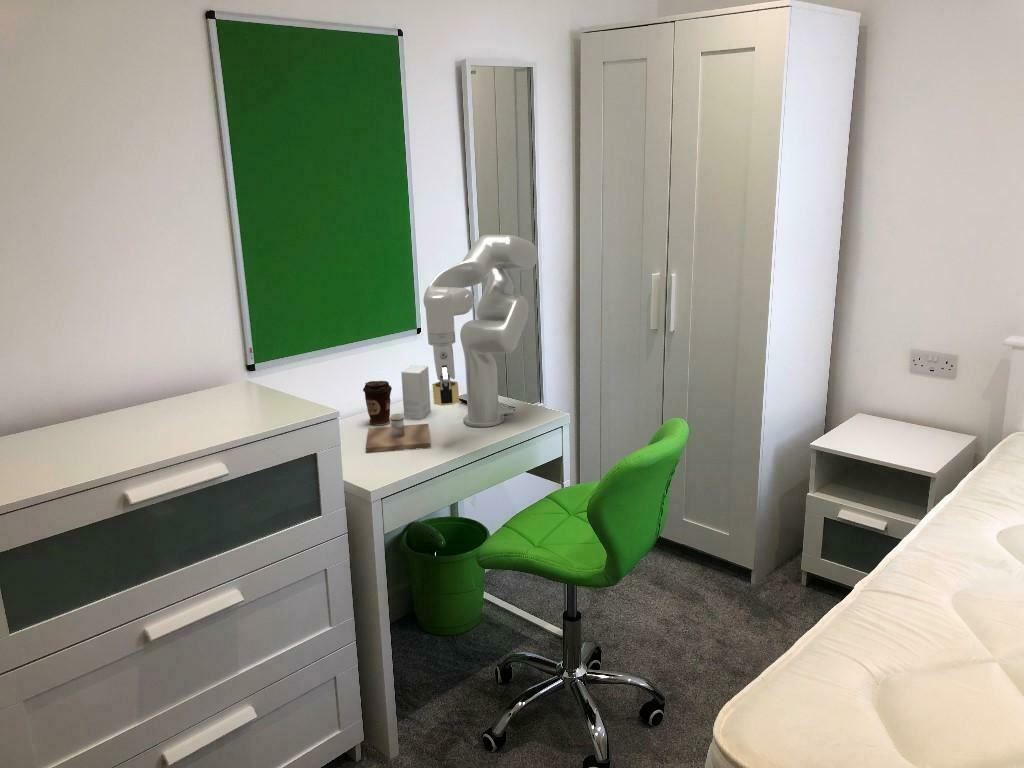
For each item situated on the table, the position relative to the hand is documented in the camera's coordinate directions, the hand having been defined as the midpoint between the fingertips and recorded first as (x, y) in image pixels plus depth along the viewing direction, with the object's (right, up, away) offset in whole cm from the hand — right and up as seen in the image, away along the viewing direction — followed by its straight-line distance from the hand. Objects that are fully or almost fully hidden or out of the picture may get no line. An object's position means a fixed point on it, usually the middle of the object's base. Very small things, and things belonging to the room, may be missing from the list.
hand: (446, 398), depth 234 cm
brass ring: (0, -1, 0) cm, 1 cm away
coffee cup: (-23, -8, +25) cm, 35 cm away
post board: (-15, -12, +8) cm, 21 cm away
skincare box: (-11, -6, +31) cm, 34 cm away
